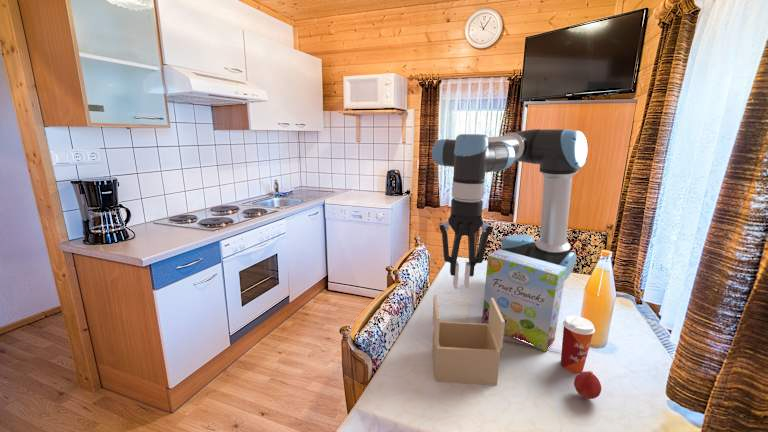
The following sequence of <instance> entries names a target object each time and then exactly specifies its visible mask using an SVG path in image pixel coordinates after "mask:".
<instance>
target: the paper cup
mask: <svg viewBox="0 0 768 432" xmlns="http://www.w3.org/2000/svg"><path fill="white" fill-rule="evenodd" d="M562 325H563V331H562V332H563V333H562V343H561V356H560V365H561V367H562V368H563V369H565V370H566V371H568V372H571V373H574V374H580V373H581V372H584V367H585V364H586V360H587V357H588V353H589V350H590V346H591V342H592V338H593V336H594V335H593V334H595V332H596V329H595V326H594V323H592V321H590V320H589V319H587V318H585V317H582V316H578V315H569V316H566V318H564V319H563V322H562Z"/></svg>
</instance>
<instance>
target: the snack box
mask: <svg viewBox="0 0 768 432" xmlns="http://www.w3.org/2000/svg"><path fill="white" fill-rule="evenodd" d="M486 264H487V265H486V274H485V285H484V296H483V306H482V315H481V316H482V317H481V323H487V324H489V322H488V321H489V310H490V300H491V298H494V300H495V302H496V304H497V306H498V308H499V310H500V312H501V314H502V317H503V319H504V321H505V327H504V335H506V336H508V335H509V337H510V336H512V337H511V338H513V337H515V338H518V339H520V340H524V341H526V342H528V343H531V344H533V345H534V348H535V349H538V350H540V351H542V352H545V353H546V352H547V351H548V350H549V349H548V347H549V346H550V345H551V344H552V345H553V343H554V342H555V339H556V333H557V328H558V320H559V316H560V310H561V304H562V297H563V293H564V287H565V282H566V280H565V275H566V269H567V267H564V266H560V265H557V264H553V263H549V262H546V261H542V260H538V259H535V258H531V257H527V256H523V255H520V254H516V253H512V252H508V251H505V250H501V248H499V249H498V248H497V250H496V251H494V252H492V253H489V254H488V255H487V263H486ZM515 338H514V339H515ZM553 341H554V342H553ZM552 345H551V346H552ZM551 346H550V347H551ZM550 347H549V348H550Z"/></svg>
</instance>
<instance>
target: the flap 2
mask: <svg viewBox="0 0 768 432" xmlns="http://www.w3.org/2000/svg"><path fill="white" fill-rule="evenodd" d="M488 322H489V325H490V327H491V330H492V332H493V335H494V337H495V340H496V342H497V345H498V348H499V350H501V349H503V343H504V335H505V334H504V327H505V321H504V319H503V317H502V314H501V312H500V310H499V308H498V306H497V304H496V302H495V300H494V298H491V300H490V310H489V321H488Z"/></svg>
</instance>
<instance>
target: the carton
mask: <svg viewBox="0 0 768 432" xmlns="http://www.w3.org/2000/svg"><path fill="white" fill-rule="evenodd" d="M431 347H432V349H431V353H432V355H431V356H432V365H433V377H434V382H439V383H453V384H454V383H455V384H470V385H473V384H474V385H488V386H497V385H498V376H499V367H500V359H501V349H499V348H498V345H497V342H496V340H495V337H494V335H493V332H492V330H491V327H490V325H489V324H487V323H482V322H466V321H465V322H463V321H462V322H461V321H448V320H447V321H443V320H440V326H439V343H438V345H435V338H434V329H432V346H431Z"/></svg>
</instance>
